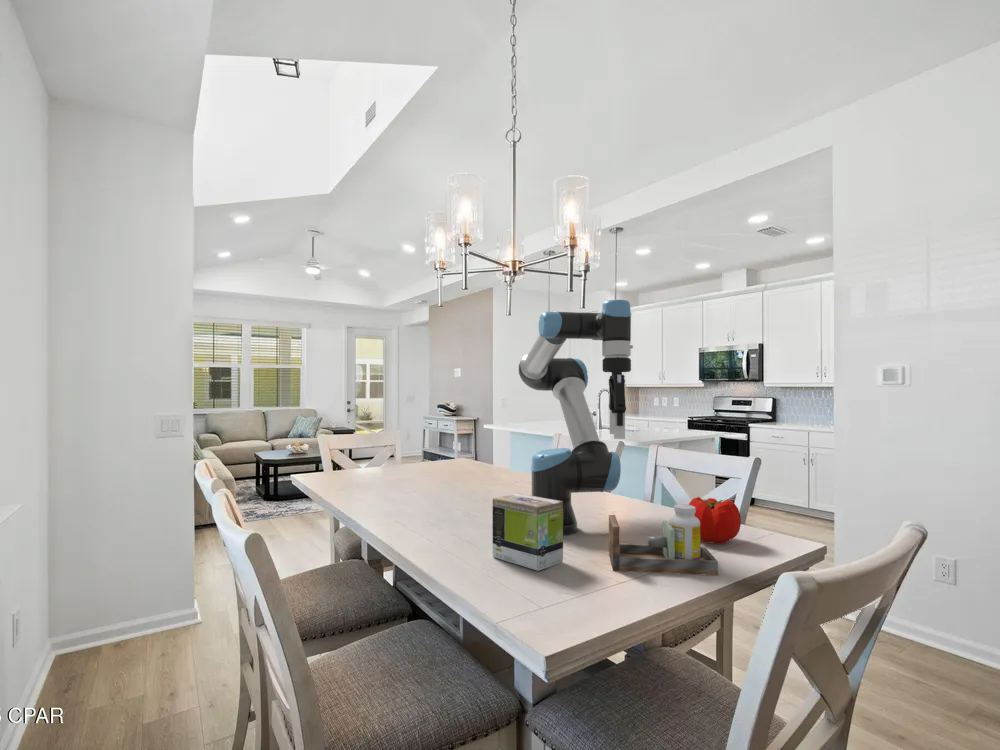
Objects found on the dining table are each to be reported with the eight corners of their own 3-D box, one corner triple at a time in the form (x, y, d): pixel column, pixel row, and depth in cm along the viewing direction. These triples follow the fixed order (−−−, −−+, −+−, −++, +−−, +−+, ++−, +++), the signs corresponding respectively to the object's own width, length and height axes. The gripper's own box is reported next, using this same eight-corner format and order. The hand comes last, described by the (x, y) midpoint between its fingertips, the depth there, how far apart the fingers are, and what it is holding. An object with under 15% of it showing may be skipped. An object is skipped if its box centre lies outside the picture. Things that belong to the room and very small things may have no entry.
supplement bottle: (697, 557, 124) (697, 503, 125) (703, 567, 118) (702, 510, 118) (668, 555, 126) (668, 502, 126) (672, 565, 119) (672, 508, 119)
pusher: (652, 564, 118) (651, 529, 119) (646, 552, 127) (646, 520, 127) (674, 565, 118) (674, 530, 118) (667, 553, 126) (667, 520, 127)
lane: (612, 570, 118) (612, 526, 119) (609, 555, 129) (608, 514, 130) (718, 575, 115) (717, 530, 116) (705, 559, 126) (704, 517, 127)
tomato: (747, 540, 142) (747, 497, 142) (726, 552, 132) (725, 506, 132) (700, 531, 151) (699, 490, 151) (677, 541, 141) (676, 498, 142)
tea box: (564, 562, 124) (564, 500, 125) (537, 572, 117) (537, 507, 117) (518, 548, 135) (518, 491, 135) (490, 557, 128) (490, 497, 128)
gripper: (636, 354, 127) (637, 441, 127) (625, 359, 152) (625, 432, 151) (605, 354, 128) (606, 440, 128) (599, 360, 153) (599, 432, 152)
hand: (616, 436), depth 140 cm, fingers open, 13 cm apart
